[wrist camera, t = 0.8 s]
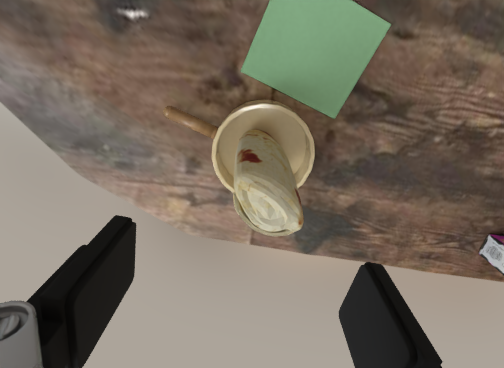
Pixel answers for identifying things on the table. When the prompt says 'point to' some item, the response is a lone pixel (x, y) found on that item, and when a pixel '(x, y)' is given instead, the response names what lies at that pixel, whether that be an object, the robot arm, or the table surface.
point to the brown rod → (190, 121)
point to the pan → (276, 125)
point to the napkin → (314, 49)
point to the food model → (265, 186)
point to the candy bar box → (494, 251)
